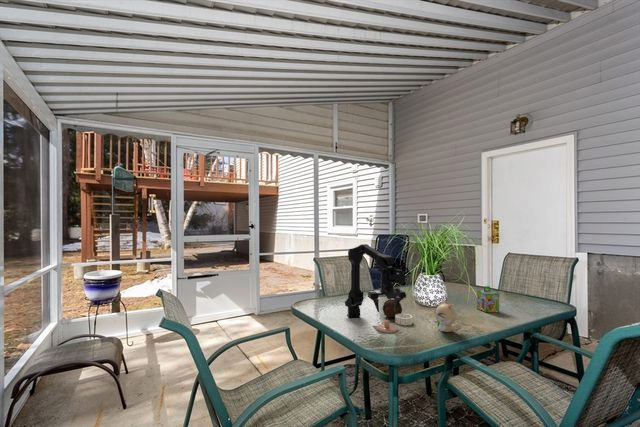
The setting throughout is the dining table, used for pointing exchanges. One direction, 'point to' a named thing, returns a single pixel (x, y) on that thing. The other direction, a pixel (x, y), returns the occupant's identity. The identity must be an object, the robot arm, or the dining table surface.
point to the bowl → (404, 319)
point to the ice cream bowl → (391, 309)
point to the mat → (386, 333)
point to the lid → (387, 327)
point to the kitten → (446, 317)
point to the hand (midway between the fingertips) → (386, 311)
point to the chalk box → (487, 300)
